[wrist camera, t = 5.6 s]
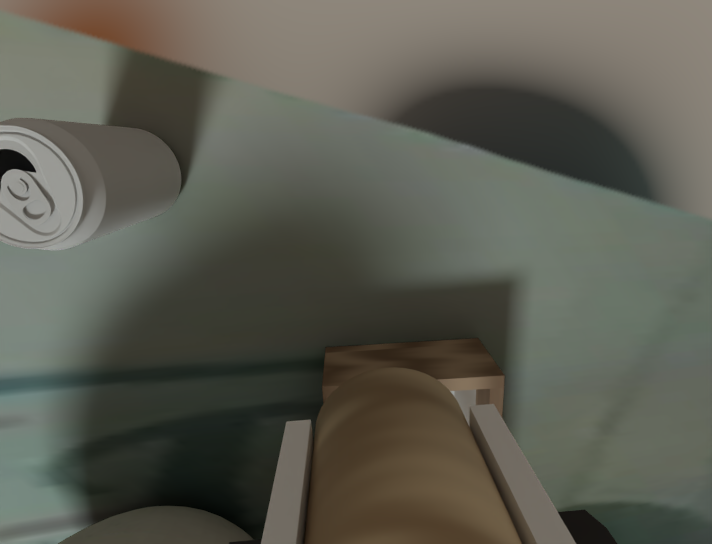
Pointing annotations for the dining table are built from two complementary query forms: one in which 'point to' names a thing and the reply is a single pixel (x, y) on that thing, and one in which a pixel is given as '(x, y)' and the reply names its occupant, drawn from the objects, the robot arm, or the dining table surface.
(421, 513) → the peg
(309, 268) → the dining table surface
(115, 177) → the beverage can
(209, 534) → the vase
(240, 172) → the dining table surface
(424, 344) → the crate
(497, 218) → the dining table surface
